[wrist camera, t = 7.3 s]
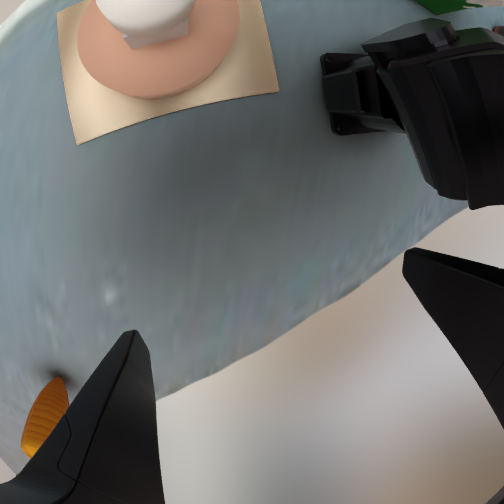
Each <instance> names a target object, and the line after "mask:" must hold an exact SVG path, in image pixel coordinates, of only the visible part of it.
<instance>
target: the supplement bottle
mask: <svg viewBox="0 0 504 504" xmlns="http://www.w3.org/2000/svg"><path fill="white" fill-rule="evenodd" d="M494 32H495V33H497V34H499V35H501V36H503V37H504V26H497V27H495V28H494Z"/></svg>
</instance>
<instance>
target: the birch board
mask: <svg viewBox="0 0 504 504" xmlns="http://www.w3.org/2000/svg"><path fill="white" fill-rule="evenodd" d="M91 1H92V0H84V1H82V2H79V3H77V4H75V5H73V6H71V7H68V8H66V9H64V10H62V11H60V12H58V13H57V25H58V39H59V50H60V59H61V67H62V74H63V80H64V87H65V92H66V98H67V103H68V108H69V113H70V118H71V122H72V127H73V131H74V135H75V139H76V143H77V145H80V144H82V143H84V142H87V141H89V140H92V139H94V138H97V137H99V136H102V135H104V134H107V133H110V132H112V131H115V130H118V129H121V128H124V127H126V126H129V125H132V124H135V123H138V122H142V121H145V120H148V119H151V118H155V117H158V116H161V115H165V114H168V113H172V112H176V111H180V110H184V109H188V108H192V107H196V106H200V105H205V104H209V103H214V102H219V101H224V100H229V99H235V98H240V97H246V96H253V95H259V94H266V93H274V92H279V85H278V80H277V75H276V70H275V65H274V60H273V55H272V50H271V46H270V41H269V36H268V32H267V27H266V23H265V19H264V14H263V10H262V6H261V2H260V0H237V2H238V5H239V12H240V23H239V28H238V32H237V35H236V38H235V40H234V42H233V44H232V46H231V48H230V49H229V51H228V52H227V54H226V55H225V57H224V58H223V60H222V62H221V63H220V64H219V66H218V67H217V69H216V70H215V71H214V72H213V73H212V74H211V75H210V76H209V77H208V78H207V79H206V80H205V81H203V82H202V83H201V84H199V85H198V86H196V87H194V88H193V89H191V90H189V91H187V92H185V93H182V94H180V95H177V96H174V97H170V98H165V99H157V100H144V99H136V98H133V97H129V96H126V95H124V94H121V93H119V92H117V91H114V90H112V89H110V88H107V87H106V86H104V85H102V84H100V83H99V82H98V81H96V80H95V79H94V78H93V77H92V76H91V75H90V74H89V73H88V72H87V71H86V69H85V67H84V66H83V64H82V62H81V60H80V57H79V53H78V48H77V35H78V28H79V25H80V21H81V19H82V17H83V14H84V12H85V10H86V9H87V7H88V5H89V4H90V3H91Z"/></svg>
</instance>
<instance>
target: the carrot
mask: <svg viewBox="0 0 504 504" xmlns="http://www.w3.org/2000/svg"><path fill="white" fill-rule="evenodd" d="M68 407H69V401H68V395H67V391H66V387H65V384H64V381H63V379H62V378H61V377H60V376H59V377H55V378H54V379H53V380H52V381H50V382H49V383H48V384H47V385H46V386H45V387H44V388H43V390H42V391H41V392H40V393H39V395H38V397H37V398H36V400H35V402H34V404H33V406H32V408H31V410H30V412H29V415H28V418H27V421H26V424H25V427H24V431H23V435H22V439H21V448H22V450H23V452H24V453H25V454H26V455H27V456H28V457H29V458H30V459H31V458H32V457H33V455H34V454H35V453H36V451H37V450H38V449H39V448H40V446H41V445H42V444H43V442H44V441H45V440H46V438H47V437H48V436H49V435H50V433H51V432H52V430H53V429H54V427H55V426H56V425H57V423H58V422H59V420H60V419H61V417H62V416H63V414H64V413H65V414H66V410H67V409H68ZM17 475H18V474H17ZM17 475H16V476H17Z"/></svg>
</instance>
